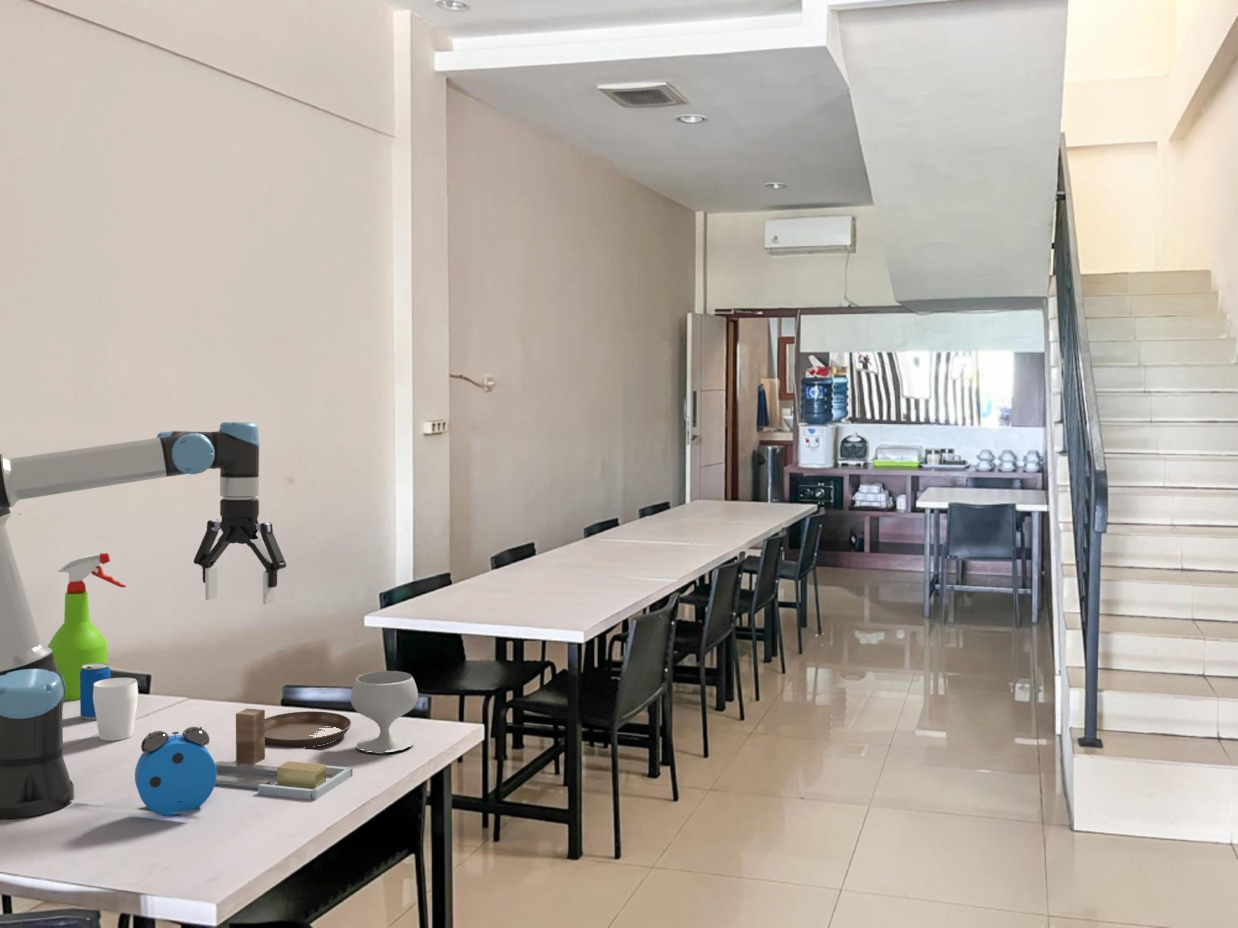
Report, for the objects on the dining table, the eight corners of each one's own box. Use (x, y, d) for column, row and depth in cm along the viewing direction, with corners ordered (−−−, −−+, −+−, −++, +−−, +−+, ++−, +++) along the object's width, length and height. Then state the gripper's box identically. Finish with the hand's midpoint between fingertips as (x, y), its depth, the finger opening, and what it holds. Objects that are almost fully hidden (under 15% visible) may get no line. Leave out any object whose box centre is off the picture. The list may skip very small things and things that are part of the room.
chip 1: (296, 790, 214) (295, 769, 214) (277, 788, 215) (276, 767, 215) (307, 783, 218) (306, 762, 218) (288, 781, 219) (288, 760, 219)
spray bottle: (124, 696, 282) (122, 556, 280) (43, 702, 276) (41, 558, 274) (129, 683, 295) (127, 549, 293) (52, 688, 289) (50, 551, 287)
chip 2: (315, 792, 213) (315, 771, 213) (296, 790, 214) (296, 769, 214) (326, 785, 217) (326, 764, 217) (307, 783, 218) (307, 762, 218)
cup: (146, 731, 252) (145, 678, 252) (125, 743, 243) (124, 688, 243) (107, 729, 253) (107, 676, 253) (85, 741, 244) (84, 686, 244)
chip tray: (315, 804, 207) (315, 791, 207) (258, 798, 210) (258, 785, 210) (352, 780, 221) (352, 767, 221) (297, 775, 224) (297, 762, 224)
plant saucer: (358, 747, 243) (358, 731, 243) (257, 757, 236) (257, 741, 236) (344, 721, 263) (344, 707, 262) (250, 730, 255) (250, 715, 255)
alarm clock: (211, 800, 209) (211, 720, 208) (217, 811, 204) (216, 728, 203) (134, 812, 203) (133, 729, 202) (138, 823, 197) (137, 738, 197)
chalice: (431, 743, 246) (431, 674, 245) (387, 760, 234) (386, 688, 233) (382, 733, 253) (382, 666, 252) (336, 749, 241) (336, 679, 240)
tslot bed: (263, 794, 212) (263, 784, 212) (188, 786, 216) (188, 776, 216) (291, 778, 222) (291, 768, 222) (219, 770, 226) (219, 760, 226)
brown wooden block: (253, 769, 227) (253, 715, 227) (236, 767, 228) (235, 713, 228) (264, 763, 231) (264, 709, 230) (247, 761, 232) (247, 708, 231)
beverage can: (80, 714, 265) (79, 663, 265) (111, 711, 268) (110, 661, 267) (80, 721, 259) (79, 669, 259) (111, 718, 262) (110, 667, 261)
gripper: (303, 498, 232) (303, 602, 233) (199, 494, 239) (199, 594, 240) (282, 501, 225) (282, 608, 226) (175, 496, 232) (175, 600, 233)
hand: (239, 601), depth 233 cm, fingers open, 13 cm apart
